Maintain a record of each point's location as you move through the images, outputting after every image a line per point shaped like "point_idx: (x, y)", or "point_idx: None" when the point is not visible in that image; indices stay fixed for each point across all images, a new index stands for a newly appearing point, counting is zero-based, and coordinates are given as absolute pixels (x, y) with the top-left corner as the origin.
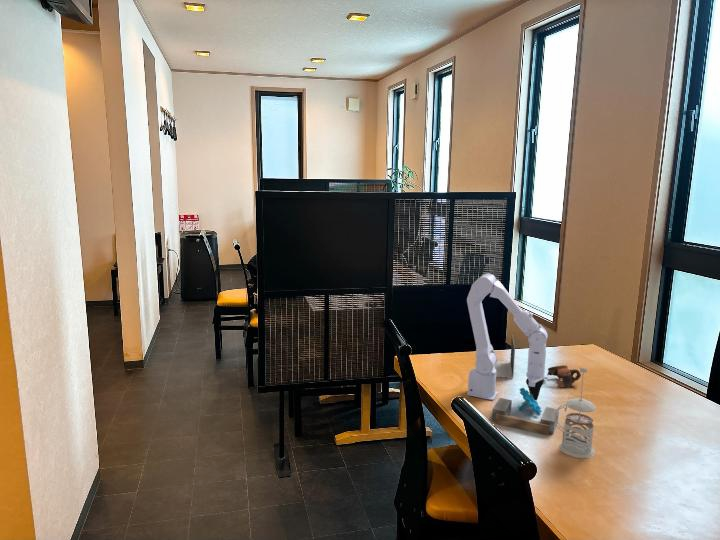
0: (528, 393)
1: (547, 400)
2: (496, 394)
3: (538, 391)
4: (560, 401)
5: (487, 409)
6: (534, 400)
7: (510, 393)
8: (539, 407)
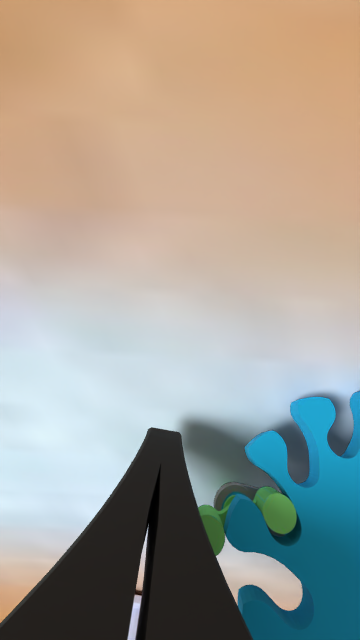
0: (272, 607)
1: (60, 322)
2: (134, 603)
3: (211, 546)
4: (22, 199)
5: None
6: (299, 494)
7: (58, 533)
8: (333, 417)
